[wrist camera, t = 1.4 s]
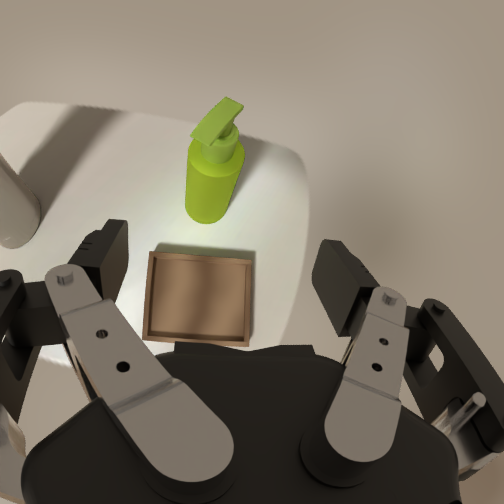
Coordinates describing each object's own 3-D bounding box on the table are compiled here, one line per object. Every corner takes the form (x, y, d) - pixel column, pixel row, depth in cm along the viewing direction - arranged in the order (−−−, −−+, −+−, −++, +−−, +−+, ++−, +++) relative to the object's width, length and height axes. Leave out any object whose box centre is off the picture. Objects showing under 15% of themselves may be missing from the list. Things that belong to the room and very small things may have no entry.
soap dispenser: (172, 215, 41) (169, 121, 22) (200, 179, 43) (217, 76, 24) (208, 238, 41) (231, 155, 22) (234, 199, 43) (272, 105, 25)
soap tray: (144, 339, 36) (142, 340, 34) (151, 255, 39) (149, 251, 37) (245, 346, 38) (249, 346, 36) (248, 263, 41) (251, 259, 39)
